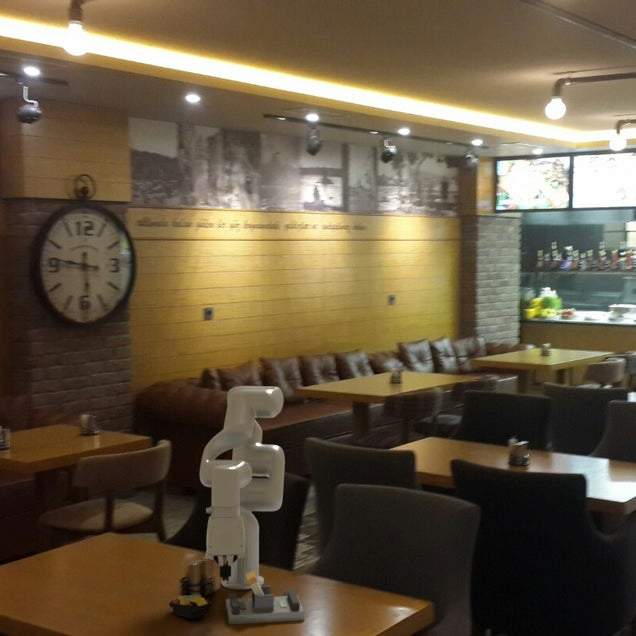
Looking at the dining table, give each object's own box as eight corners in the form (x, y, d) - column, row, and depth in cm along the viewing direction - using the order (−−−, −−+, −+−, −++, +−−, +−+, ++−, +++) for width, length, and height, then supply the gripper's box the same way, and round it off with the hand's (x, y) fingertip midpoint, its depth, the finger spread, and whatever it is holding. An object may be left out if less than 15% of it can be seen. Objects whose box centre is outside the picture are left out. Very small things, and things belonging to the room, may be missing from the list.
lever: (258, 602, 263) (245, 573, 262) (266, 598, 263) (253, 570, 262) (261, 609, 257) (247, 580, 256) (268, 605, 257) (255, 576, 256)
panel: (225, 607, 265) (225, 584, 265) (297, 604, 268) (297, 581, 268) (229, 624, 252) (229, 600, 252) (304, 620, 255) (304, 596, 255)
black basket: (185, 611, 265) (183, 591, 265) (214, 616, 256) (212, 595, 256) (166, 617, 261) (164, 597, 261) (195, 622, 251) (193, 601, 252)
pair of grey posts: (228, 599, 272) (228, 585, 271) (290, 596, 275) (290, 581, 274) (233, 622, 254) (233, 606, 254) (299, 618, 257) (299, 602, 256)
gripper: (198, 515, 252) (198, 584, 253) (254, 513, 255) (254, 582, 255) (197, 509, 260) (196, 576, 260) (252, 507, 262) (251, 574, 262)
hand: (225, 579), depth 258 cm, fingers closed
